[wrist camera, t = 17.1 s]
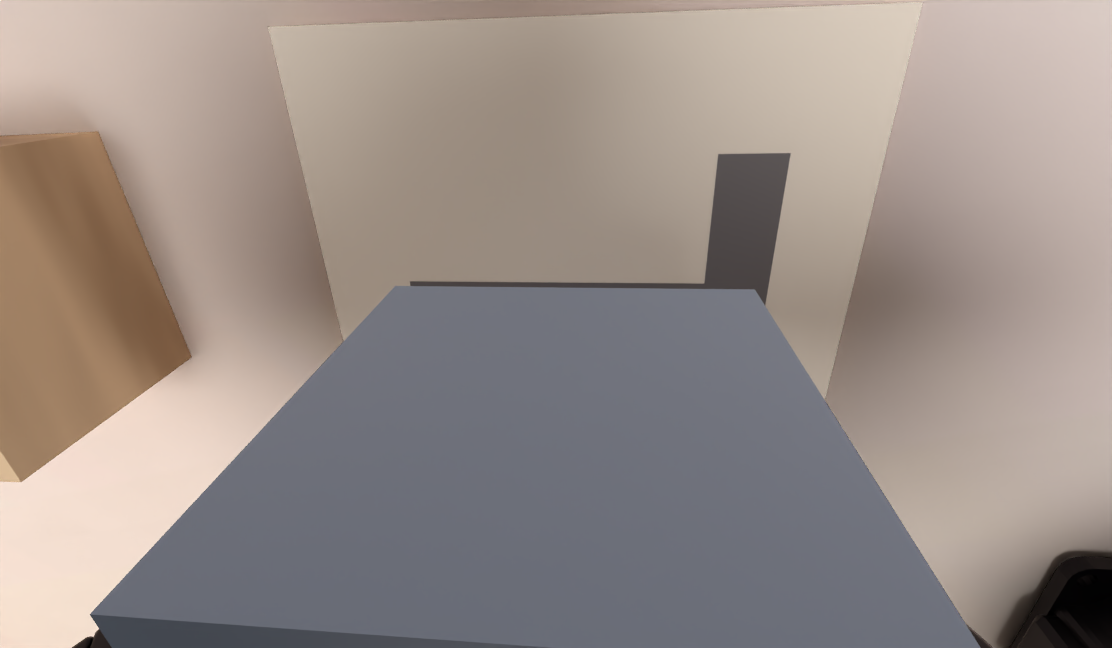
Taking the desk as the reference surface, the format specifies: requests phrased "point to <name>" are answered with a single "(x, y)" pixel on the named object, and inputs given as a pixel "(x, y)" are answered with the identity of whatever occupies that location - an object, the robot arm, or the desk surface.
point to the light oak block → (72, 299)
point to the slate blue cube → (544, 493)
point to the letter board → (602, 153)
